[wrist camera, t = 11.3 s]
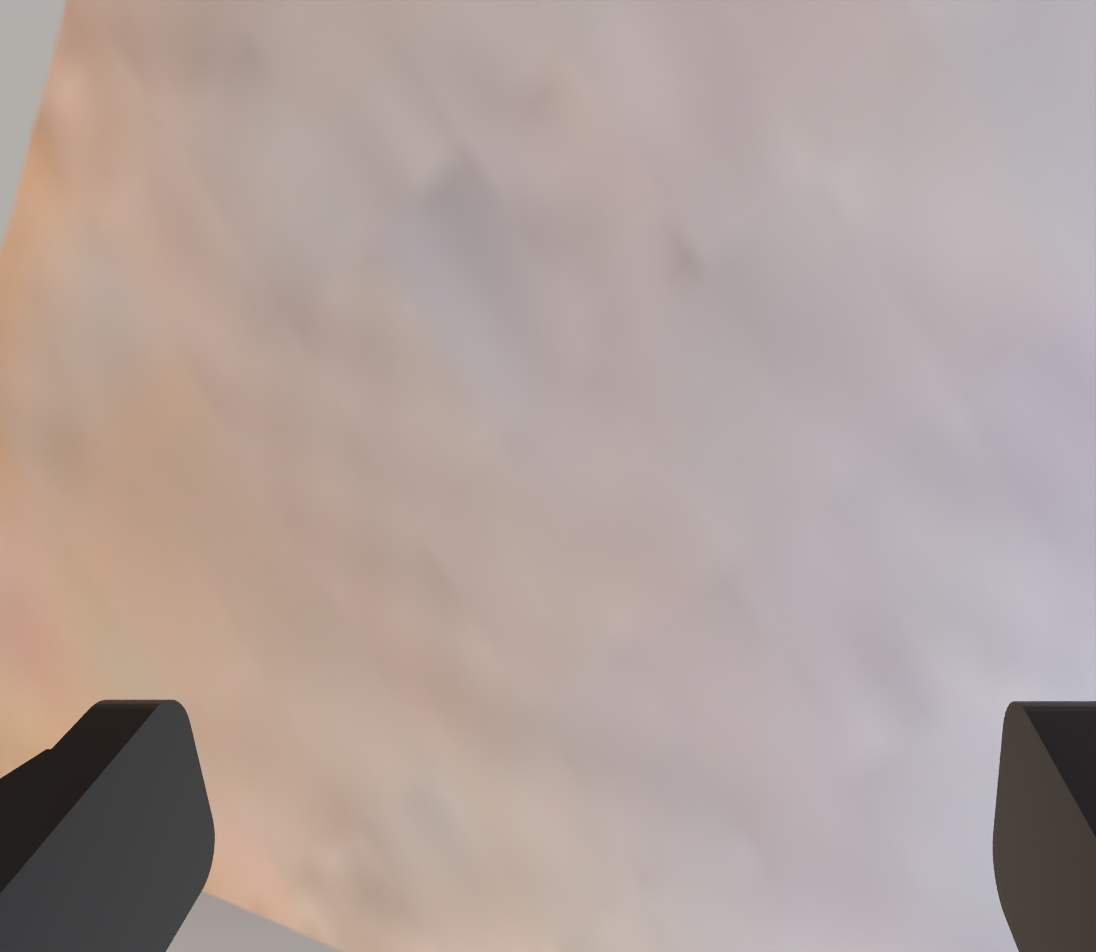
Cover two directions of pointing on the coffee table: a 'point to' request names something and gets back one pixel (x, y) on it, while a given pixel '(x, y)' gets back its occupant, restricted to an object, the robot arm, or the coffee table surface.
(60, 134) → the coffee table surface
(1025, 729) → the robot arm
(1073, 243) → the coffee table surface
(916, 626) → the coffee table surface
